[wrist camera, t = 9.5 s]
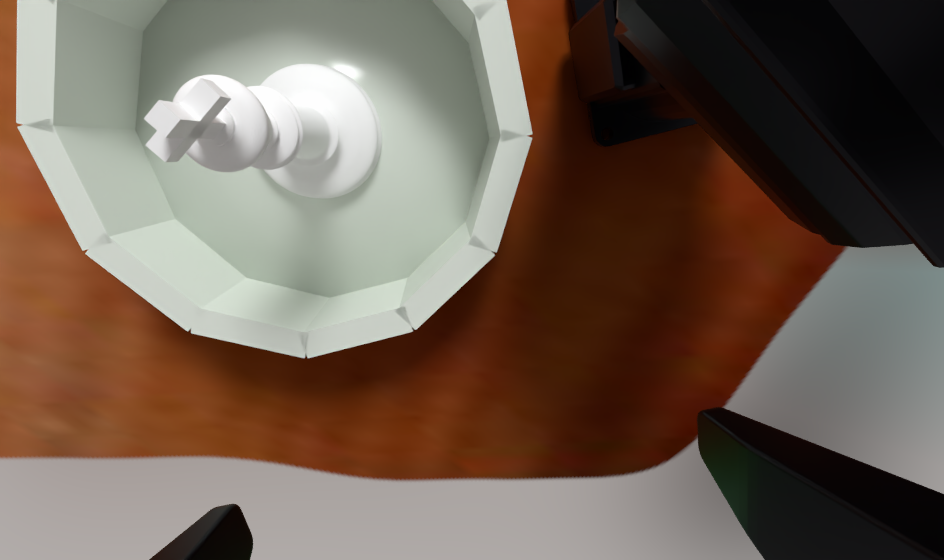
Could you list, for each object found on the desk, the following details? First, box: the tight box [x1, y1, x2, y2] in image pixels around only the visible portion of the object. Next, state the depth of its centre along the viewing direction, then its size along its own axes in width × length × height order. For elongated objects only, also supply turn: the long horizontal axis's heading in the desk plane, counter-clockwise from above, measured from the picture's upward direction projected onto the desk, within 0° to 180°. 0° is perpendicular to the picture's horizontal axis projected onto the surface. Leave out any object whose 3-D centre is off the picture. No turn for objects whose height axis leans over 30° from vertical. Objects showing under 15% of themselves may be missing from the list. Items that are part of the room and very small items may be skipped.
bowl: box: [16, 0, 532, 358], centre depth 16 cm, size 15×15×4 cm
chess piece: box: [144, 64, 382, 198], centre depth 12 cm, size 5×5×10 cm
